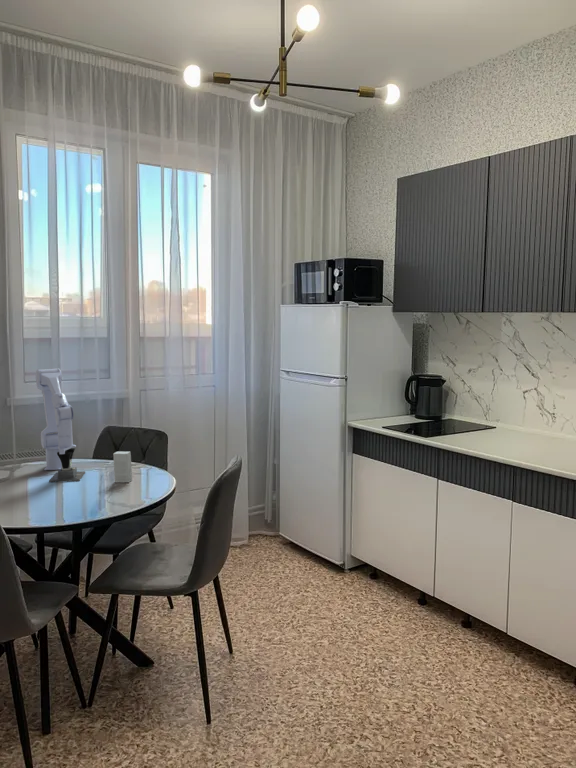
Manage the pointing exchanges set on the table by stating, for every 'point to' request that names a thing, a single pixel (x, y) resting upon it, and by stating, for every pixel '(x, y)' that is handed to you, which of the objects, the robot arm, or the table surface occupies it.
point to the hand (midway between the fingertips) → (67, 467)
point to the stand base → (67, 475)
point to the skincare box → (122, 466)
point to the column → (69, 466)
